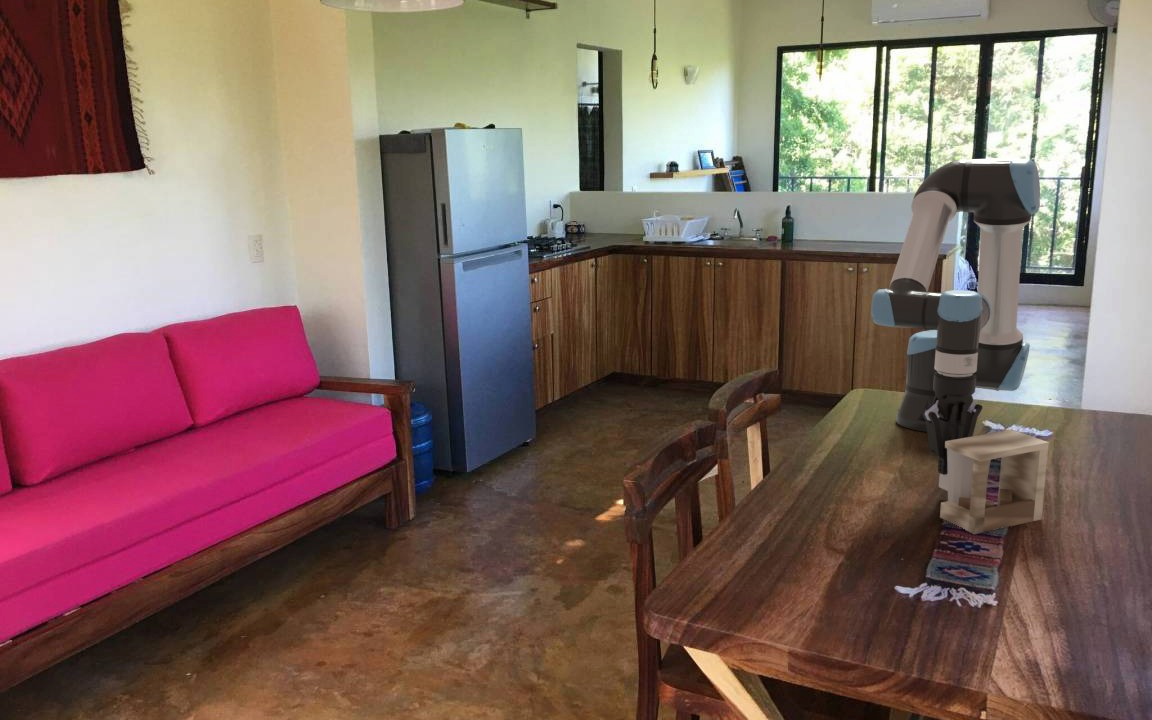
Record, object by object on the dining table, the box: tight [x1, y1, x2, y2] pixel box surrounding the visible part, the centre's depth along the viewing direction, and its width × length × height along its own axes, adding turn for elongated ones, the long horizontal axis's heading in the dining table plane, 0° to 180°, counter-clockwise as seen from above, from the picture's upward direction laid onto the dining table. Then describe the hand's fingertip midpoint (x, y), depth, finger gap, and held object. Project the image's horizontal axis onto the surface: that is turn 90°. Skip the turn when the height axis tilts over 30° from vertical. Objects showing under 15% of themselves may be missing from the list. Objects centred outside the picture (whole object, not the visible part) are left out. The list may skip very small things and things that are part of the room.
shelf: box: [939, 429, 1050, 535], centre depth 172 cm, size 8×16×15 cm, turn 112°
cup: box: [947, 448, 992, 504], centre depth 178 cm, size 8×8×12 cm
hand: (946, 488), depth 183 cm, fingers closed
